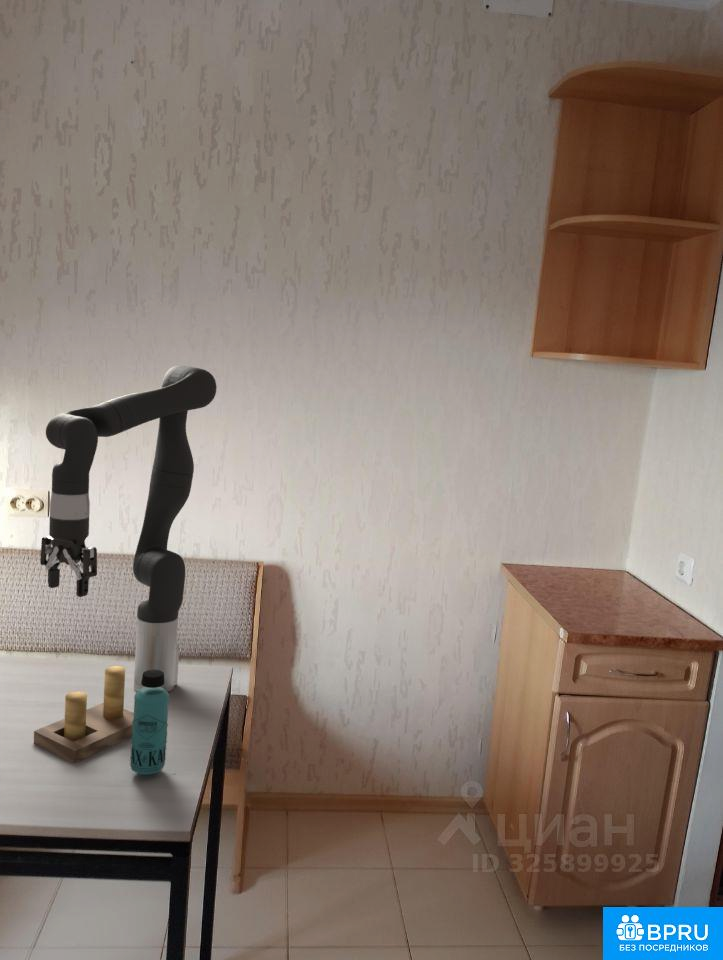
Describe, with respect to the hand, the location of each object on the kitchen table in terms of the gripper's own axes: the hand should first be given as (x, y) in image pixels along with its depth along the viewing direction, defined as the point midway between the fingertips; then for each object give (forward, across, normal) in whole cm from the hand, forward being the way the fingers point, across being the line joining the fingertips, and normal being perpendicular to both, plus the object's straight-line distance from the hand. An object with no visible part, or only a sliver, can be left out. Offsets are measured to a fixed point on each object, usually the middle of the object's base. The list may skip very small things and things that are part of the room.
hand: (67, 591), depth 162 cm
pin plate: (+28, -10, +1) cm, 30 cm away
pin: (+28, -10, +5) cm, 30 cm away
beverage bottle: (+28, -29, +4) cm, 40 cm away
